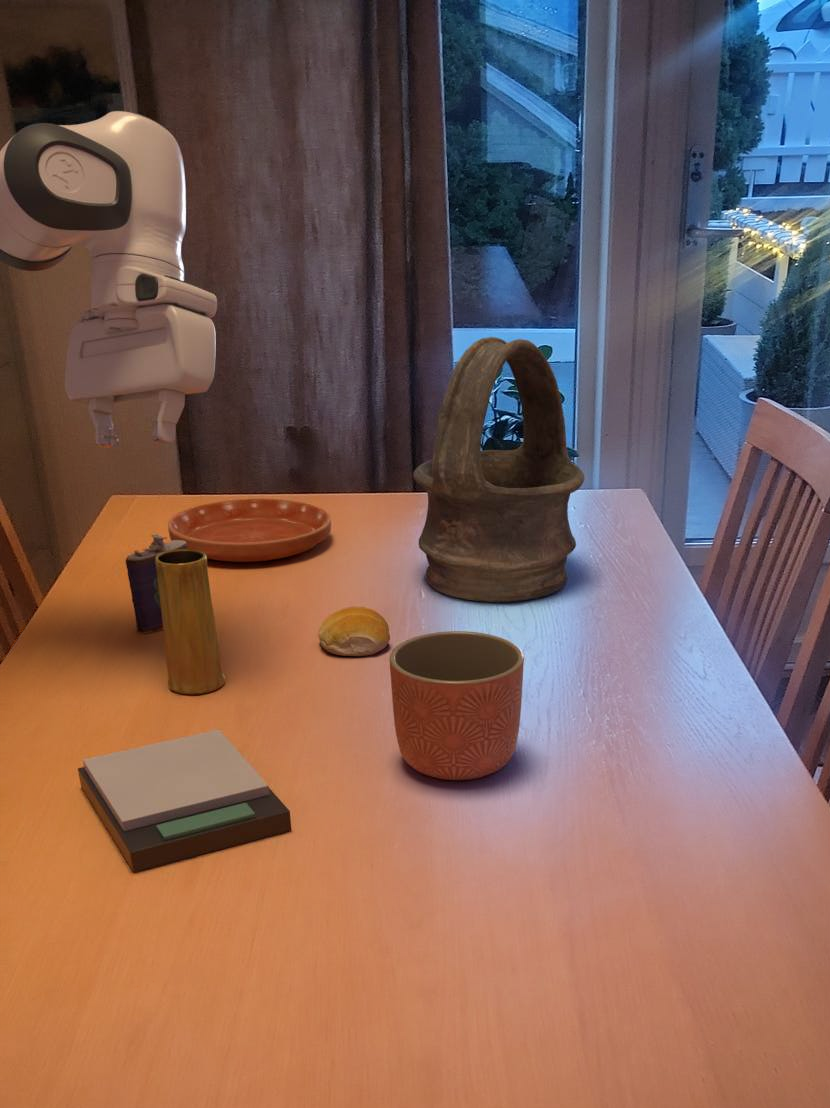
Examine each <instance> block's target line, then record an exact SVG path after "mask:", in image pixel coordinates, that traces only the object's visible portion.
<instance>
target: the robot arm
mask: <svg viewBox="0 0 830 1108" xmlns="http://www.w3.org/2000/svg"><path fill="white" fill-rule="evenodd" d="M186 186H187V185H186V172H185V165H184V158H183V154H182V151H181V148H180V145H179V143H178V141H177V140H176V138H175V137H174V135H172V133H171V132H170V131H169V130H168V129H166V127H164V126H163V125H162V124H160V123H159V122H157V121H156V120H154V119H152V118H150V117H148V116H145V115H143V114H141V113H137V112H131V111H125V110H114V111H110V112H108V113H106V114H105V115H103V116H102V117H100V118H98V119H95V120H92V121H88V122H84V123H79V124H70V125H69V124H65V125H63V124H55V123H49V122H39V123H38V122H37V123H33V124H30V125H27V126H25V127H23V128H21V129H20V130H18V131H17V132H16V133H15V134H14V135H12V137H11V138H10V139H9V140H8V141H7V142H6V144H5V145H4V146H2V148H1V149H0V262H2V263H4V264H5V265H7V266H10V267H11V268H15V269H18V270H21V271H25V272H39V271H44V270H45V271H46V270H48V269H51V268H53V267H55V266H56V265H58V264H60V262H62V261H63V260H64V259H65V258H66V256H67V255H68V254H69V252H70V251H71V250H72V249H73V247H74V245H75V246H79V247H83V248H86V249H87V250H88V251H89V252H90V253H91V301H90V302H91V303H90V304H91V305H90V309H86V310H83V312H82V314H81V317H80V318H79V320H78V322H75V325H74V327H73V329H72V330H71V332H70V336H69V340H68V345H67V346H68V347H67V354H66V362H65V373H64V374H65V375H64V390H65V393H66V395H67V397H68V399H69V400H70V401H73V402H75V403H80V404H85V405H88V409H87V411H88V414H89V416H90V419H91V421H92V423H93V427H94V428H95V432H94V433H95V436H94V437H95V441H94V442H95V444H96V445H97V446H98V447H102V448H105V449H108V448H117V447H118V445H119V429H116V428H114V423H113V419H112V417H111V415H113V414H114V411H115V410H114V409H115V404H118V403H126V402H127V403H128V402H134V401H142V400H143V401H144V400H152V399H158V403H161V405H160V407H159V408H160V409H159V412H158V416H157V419H156V420H155V421H151V430H152V432H151V438H152V440H153V441H154V442H158V443H174V442H175V441H176V433H177V432H176V431H177V429H176V428H177V424H178V422H179V420H180V417H181V416H182V413H183V410H184V408H185V406H186V405H185V404H186V395H192V394H200V393H206V392H208V391H209V390H210V387H211V385H212V383H213V381H214V378H215V371H216V353H217V352H216V347H217V345H216V343H217V342H216V341H217V340H216V336H217V335H216V328H215V324H214V322H213V320H212V319H211V318H213V317H215V315H216V314H217V309H218V298H217V296H216V295H215V294H214V293H212V292H210V291H207V290H205V289H203V288H200V287H198V286H195V285H193V284H190V283H187V282H185V266H184V262H183V257H182V243H183V239H184V236H185V234H186V230H187V189H186Z"/></svg>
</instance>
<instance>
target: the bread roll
mask: <svg viewBox="0 0 830 1108" xmlns="http://www.w3.org/2000/svg"><path fill="white" fill-rule="evenodd" d="M389 631H390V627H389V625H388V622H387V621H386V619H385V618H384V617H383V616H382V614H380V613H379V612H377V611H376V610H374V609H373V608H372V609H371V608H368V607H366V606H365V607H364V606H348V607H345V608H341V609H339V610H337V611H335V612H333V613H332V614H331V615H329V616H328V617H326V618H325V619H324V620H323V622H322V623H321V625H320V627H319V630H318V635H317V636H318V640H319V643H320V645H321V647H322V648H323V649H324V650H325V651H326V652H329V653H331V654H333V655H338V656H344V657H365V656H366V657H367V656H372V655H376V654H377V653H379V652H380V651H382V650H384V649H385V648H386V647H387V645H388V643H389V641H390V640H391V635H390V632H389Z"/></svg>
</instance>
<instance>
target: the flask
mask: <svg viewBox="0 0 830 1108" xmlns="http://www.w3.org/2000/svg"><path fill="white" fill-rule="evenodd" d="M150 537H152V539H153V540H152V542H151V543H150V545H149V546H148V548H143V549H142V551H140V552H139V550H134V553H131V554H130V555H128V556H126V559H125V565H126V571H127V577H128V582H129V588H130V592H131V593H130V594H131V601H132V605H133V610H134V617H135V624H136V632H138V633H140V634H148V633H155V632H158V631H160V630H163V622H162V613H161V604H160V595H159V586H158V576H157V569H156V563H155V557H156V556H157V555H158V554H160V553H162V552H164V551H168V550H174V549H188V545H187V543H186V542H185V541H182V540H173V541H172V540H170V541H168V542H167V543H166V542H164V540H167V539H168V538H167V536H162V535H159V534H158V533H156V534H151V535H150Z"/></svg>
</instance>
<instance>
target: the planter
mask: <svg viewBox="0 0 830 1108" xmlns="http://www.w3.org/2000/svg"><path fill="white" fill-rule="evenodd" d="M388 660H389V670H390V671H389V672H390V673H389V674H390V685H391V686H390V687H391V700H392V711H393V722H394V730H395V735H396V741H397V745H398V749H399V750H400V751H399V752H400V754H401V757H402V758H403V759H404V761H405V762H406V763H407V764H408V765H409V766H410V767H411V768H413V769H414V770H415V771H417V772H419V773H421V774H423V775H426V776H427V777H428V776H429V777H430V778H431V777H432V778H435V779H440V780H446V781H466V780H475V779H478V778H483V777H486V776H489V775H491V774H493V773H496V772H497V771H499V770H501V768H503V767H505V766H506V765H507V763H509V761H510V760H511V759H512V758H513V755H514V753H515V750H516V747H517V743H518V739H519V733H520V725H521V724H520V723H521V714H522V702H523V701H522V699H523V697H522V696H523V685H524V684H523V683H524V682H523V681H524V665H525V655H524V652H523V651H522V650H521V648H520V647H519V646H517V644H515V643H513V642H511V640H508V639H505V638H503V637H500V636H497V635H494V634H490V633H485V632H484V633H483V632H476V631H464V630H463V631H462V630H452V631H438V632H431V633H425V634H420V635H418V636H414V637H411V638H408V639H406V640H404V641H402V642H400V643H399V644H397V645H396V646H395V647H394V648H393V649H392V651H391V652H390V655H389V659H388Z"/></svg>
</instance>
